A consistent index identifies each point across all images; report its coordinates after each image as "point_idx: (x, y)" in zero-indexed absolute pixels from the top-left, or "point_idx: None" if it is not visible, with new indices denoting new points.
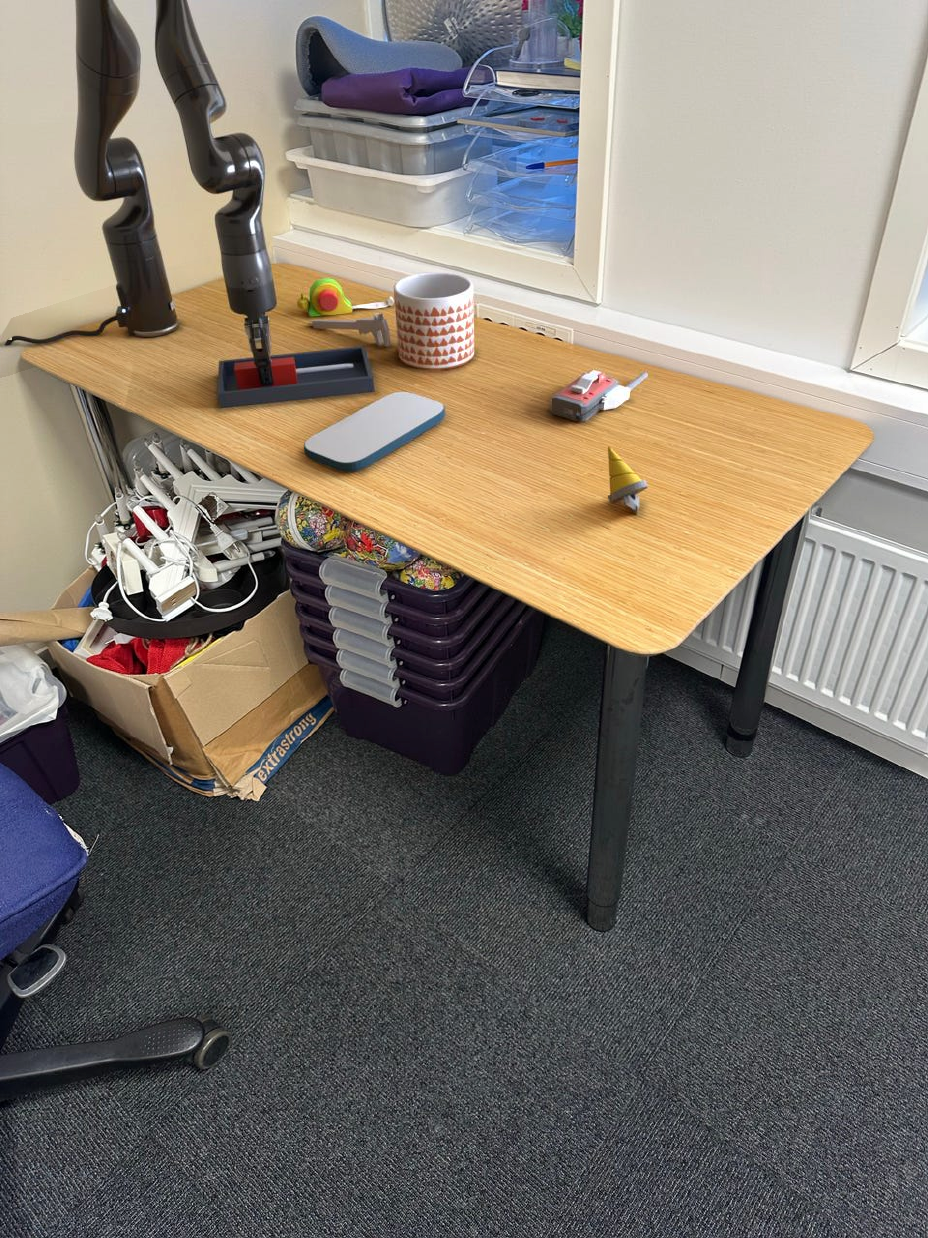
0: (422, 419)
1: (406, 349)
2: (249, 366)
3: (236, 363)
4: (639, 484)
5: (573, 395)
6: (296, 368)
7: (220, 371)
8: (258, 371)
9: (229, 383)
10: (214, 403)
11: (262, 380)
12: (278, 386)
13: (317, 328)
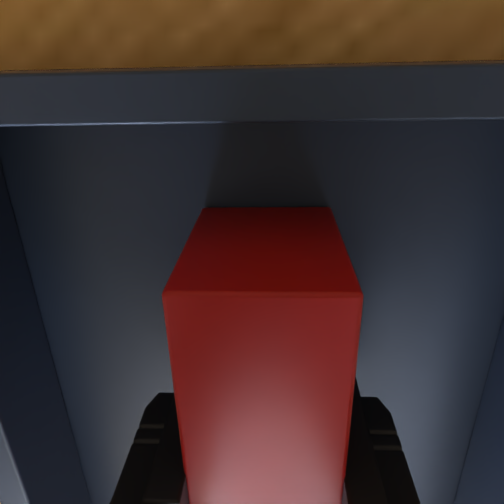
0: None
1: None
2: (220, 420)
3: (334, 314)
4: None
5: None
6: (452, 501)
7: (397, 91)
8: (155, 454)
9: (383, 132)
10: (79, 11)
11: (143, 417)
12: (12, 499)
13: None
